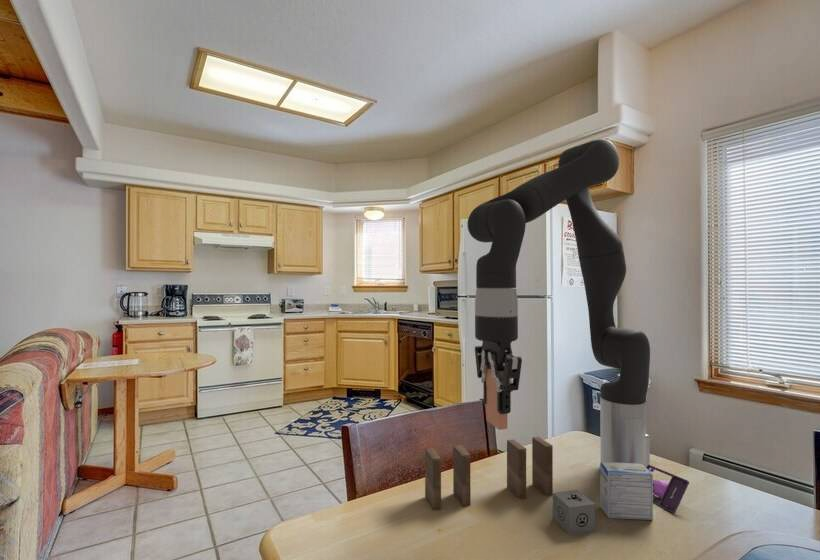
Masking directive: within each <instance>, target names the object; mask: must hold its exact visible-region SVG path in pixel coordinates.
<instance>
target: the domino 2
mask: <svg viewBox="0 0 820 560" xmlns="http://www.w3.org/2000/svg"><path fill="white" fill-rule="evenodd" d="M452 450H453V451H452V452H453V459H452V460H453V461H452V462H453V466H452V467H453V471H452V472H453V474H452V475H453V477H452V478H453V479H452V480H453V481H452V482H453V495H454V497H455V498H456V499H457V501H458V502H459V503H460V505H461V506H462V507H469V506H471V493H472V492H471V454H470V453H469V452H468V451H467V450H466V449H465V448H464V447H463V446H462V445H461V444H457V445H453V449H452Z"/></svg>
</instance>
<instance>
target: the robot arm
mask: <svg viewBox="0 0 820 560" xmlns="http://www.w3.org/2000/svg"><path fill="white" fill-rule="evenodd" d="M557 164H558V166H557V168H554V169H552V170H549V171H547V172H545V173H542V174H539V175H537V176H535V177H533V178H531V179H529V180H527V181H526V182H524V183H522V184H520V185H519V186H516V187H515V188H514V189H512V190H511V191H509V192H506V193H504V194H503V195H502V194H501V195H499V196H496V197H494V198H492V199H489V200H486V201H484V202H483V203H481V204H479V205H477V206H476V207H475V208H474V209H473V210H472V211H471V212H470V214H469V216H468V219H467V224H466V225H467V230H468V232H469V235H470V236H471V237H472V238H473V239H474V240H476V241H478V242H480V243H491V245H490V250H489V252H488V253H486V254H484V255H482V256H480V257H479V258H478V259H477V260H476V261H477V262H476V265H475V266H476V267H475V268H476V269H475V272H476V274H475V277H476V279H475V282H476V283H475V286H476V287H475V297H474V298H475V300H474V336H475V337H474V338H475V339H477V340H478V341H481V342H482V345H477V346H476V345H475V346H474V357H475V365H476V376H477V378H478V379H481V380H480V381H481V383H482V384H483V385H482V386H483V387H482V388H483V394H482V395H483V404H484V405H486V377H487V371H488V370H487V368H488V369H491V370H492V376H493V378H494V379H495V380H496V385H497V390H498V392H497V411H498V413H500V414H507V415H508V414H510V413H511V411H512V408H511V405H512V404H511V403H512V400H511V399H512V398H511V397H512V396H511V393H512V392H515V391H518V390H519V388H520V387H519V386H520V379H521V371H522V363H523V360H522V357H521V356H515V355H513V350H512V345H511V344H512V342H516V341H517V340H518V339H519V324H518V323H519V321H518V320H519V310H518V309H519V305H518V304H519V303H518V302H519V301H518V296H517V295H518V293H517V263H518V260H519V257H520V253H521V247H522V244H523V241H524V240H523V239H524V237H525V231H526V227H527V226H526V224H528V223H531V222H532V221H535V220H536V219H538V218H540V217H541V216H542V215H544V214H546V213H547V212H548V211H551V209H553V208H554V207H556V206H558V205H559V204H561V203H562V202H564V201H566V204H567V207H568V211H569V215H570V219H571V223H572V228H573V232H574V237H575V238H574V239H575V243H576V250H577V254H578V262H579V266H580V267H579V268H580V271H581V277H582V280H583V285H584V289H585V298H586V303H587V311H588V320H589V322H588V323H589V333H590V335H589V336H590V343H591V345H590V346H591V351H592V353H593V357H594V358H595V360H596V362H597V363H598V364H600V365H602V366H605V367H609V368H612V369H619V370H620V371H619V377H618V379H617V380H615V381H609V382H608V381H607V382H604V383H602V384H601V385H600V387H599V388H600V390H599V391H600V392H599V393H600V400H599V401H600V405H599V406H600V410H599V413H600V419H599V420H600V425H599V426H600V433H599V434H600V436H599V437H600V439H599V440H600V441H599V442H600V463H601V462H609V463H635V464H642V465H643V466H645V467H647V465H651V459H650V458H651V457H650V455H651V453H650V452H651V451H650V450H651V449H650V448H651V447H650V444H651V443H650V442H651V441H650V440H651V439H650V438H651V437H650V435H649V434H647V414H646V413H647V411H646V409H647V404H646V403H647V400H646V399H647V393H648V390H649V382H650V379H649V378H650V364H651V361H650V360H651V345H650V341H649V339H648V336H647V335H646V334H645V332H643V331H641V330H637V329H632V328H631V329H630V328H621V327H620V328H619V327H617V326H616V323H615V317H614V304H615V301H616V298H617V296H618V293H619V292H620V289H621V287H622V286H623V283H624V280H625V279H626V275H627V264H626V258H625V257H626V256H625V252H624V246H623V243H622V239H621V238H620V236H619V235H618V233H617V232H616V231H615V230H614V228H613V227H611V226H610V224H609V223H608V222H607V221H606V220H605V219H604V218H603V217H602V215H601V214H600V213H599V211H598V210H597V209H596V207H595V204H594V202H593V198H592V196H591V191H590V188H591V187H593V186H596V185H597V186H598V185H600V184H604V183H606V182H609V180H612V179H613V178H614V177H615V175H617V172H618V171H619V166H620V156H619V152H618V150H617V147H616V146H615V145H614V144H613V142H612V141H610V140H609V139H605V138H603V139H602V138H601V139H594V140H590V141H587V142H584V143H582V144H579V145H576V146H573V147H570V148H568V149H566V150H563V152H562V153H561V154H560V156H559V158H558V163H557ZM486 366H487V368H486ZM498 371H504V373H499V372H498ZM501 378H503V382H502V381H501ZM649 470H651V468H650V469H649Z"/></svg>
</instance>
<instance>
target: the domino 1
mask: <svg viewBox="0 0 820 560" xmlns="http://www.w3.org/2000/svg"><path fill="white" fill-rule="evenodd" d="M424 449H425V450H424V454H425V456H424V467H425V468H424V481H425V482H424V498H425V499H426V501H427V502H428V505H429V507H430V508H431V509H432V511H438V510H441V509H442V457H441V456H440V455H439V454H438V452H437V451H436V450H435V448H433V447H429V448H424Z"/></svg>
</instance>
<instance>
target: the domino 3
mask: <svg viewBox="0 0 820 560" xmlns="http://www.w3.org/2000/svg"><path fill="white" fill-rule="evenodd" d="M486 368H487V366H486ZM487 370H488V371H487V377H486V404H485V406H486V410H485V413H486V415H485V417H486V419H485V420H486V422H488V423H489V424H491V425H492V426H493V427H495V428H496V429H497V430H500V431H501V430H508V414H500V413H498V411H497V392H498V390H497V385H496V380H495V379H494V378H493V376H492V370H491V369H488V368H487ZM498 372H499V373H504V371H498ZM501 381H502V382H503V378H501Z"/></svg>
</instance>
